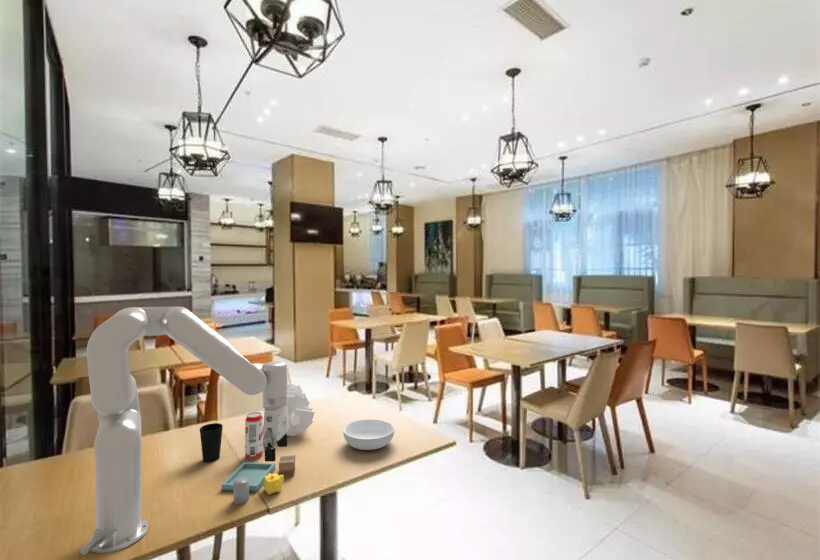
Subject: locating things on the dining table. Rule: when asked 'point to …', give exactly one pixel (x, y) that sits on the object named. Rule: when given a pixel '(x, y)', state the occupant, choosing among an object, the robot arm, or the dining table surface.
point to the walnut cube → (287, 465)
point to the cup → (211, 441)
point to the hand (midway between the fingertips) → (276, 453)
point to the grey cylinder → (241, 491)
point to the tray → (250, 475)
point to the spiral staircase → (298, 410)
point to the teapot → (273, 483)
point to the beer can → (254, 435)
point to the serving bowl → (368, 434)
